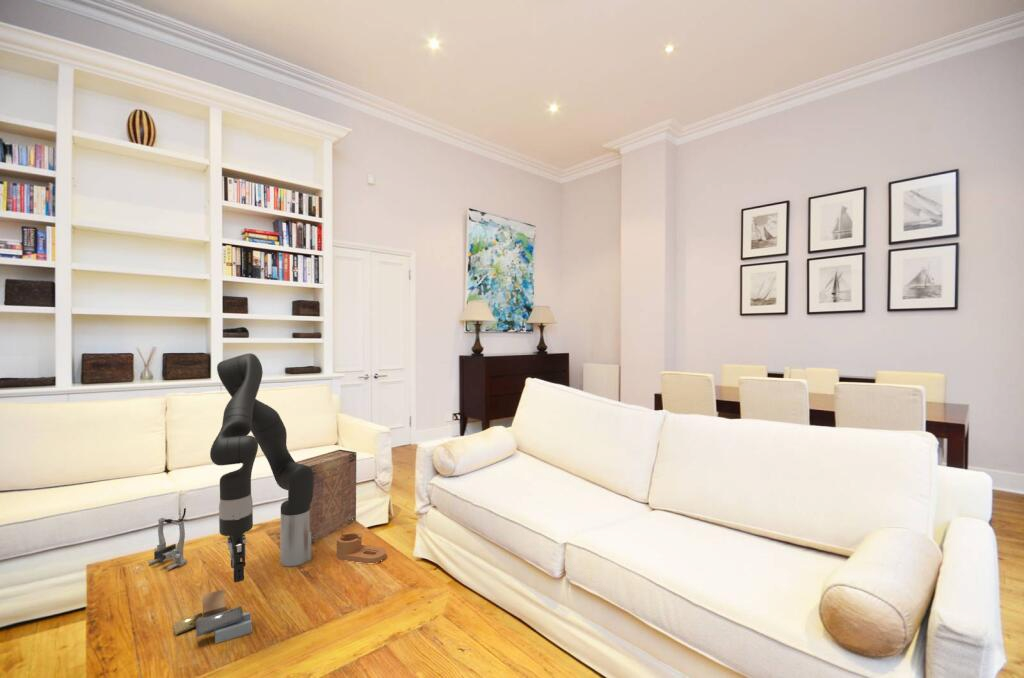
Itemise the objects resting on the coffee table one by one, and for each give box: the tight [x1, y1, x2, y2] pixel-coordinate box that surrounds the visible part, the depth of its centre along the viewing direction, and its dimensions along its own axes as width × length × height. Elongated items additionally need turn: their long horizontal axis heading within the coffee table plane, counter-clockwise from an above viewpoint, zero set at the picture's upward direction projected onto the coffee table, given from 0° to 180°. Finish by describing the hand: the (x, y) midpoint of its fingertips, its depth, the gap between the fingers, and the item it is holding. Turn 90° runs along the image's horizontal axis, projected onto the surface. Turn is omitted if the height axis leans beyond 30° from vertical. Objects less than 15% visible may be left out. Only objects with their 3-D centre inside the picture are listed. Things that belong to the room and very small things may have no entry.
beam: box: [202, 589, 227, 618], centre depth 126 cm, size 5×10×5 cm, turn 34°
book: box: [287, 449, 357, 545], centre depth 181 cm, size 25×9×30 cm, turn 155°
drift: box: [173, 612, 203, 636], centre depth 122 cm, size 6×3×3 cm
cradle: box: [214, 611, 253, 644], centre depth 121 cm, size 8×5×3 cm
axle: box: [195, 605, 243, 638], centre depth 119 cm, size 10×4×4 cm, turn 125°
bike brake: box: [147, 507, 188, 571], centre depth 155 cm, size 14×7×20 cm, turn 69°
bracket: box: [336, 531, 387, 564], centre depth 162 cm, size 18×8×7 cm, turn 75°
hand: (237, 573), depth 121 cm, fingers open, 8 cm apart
